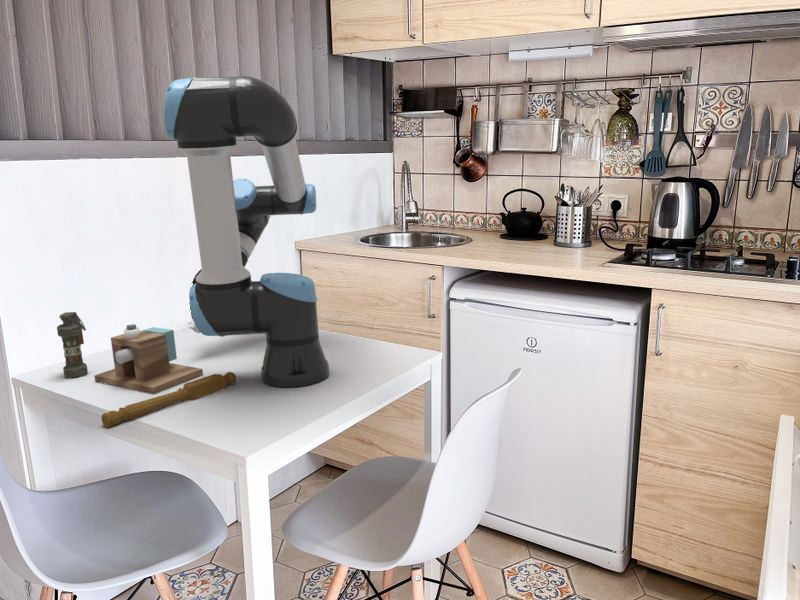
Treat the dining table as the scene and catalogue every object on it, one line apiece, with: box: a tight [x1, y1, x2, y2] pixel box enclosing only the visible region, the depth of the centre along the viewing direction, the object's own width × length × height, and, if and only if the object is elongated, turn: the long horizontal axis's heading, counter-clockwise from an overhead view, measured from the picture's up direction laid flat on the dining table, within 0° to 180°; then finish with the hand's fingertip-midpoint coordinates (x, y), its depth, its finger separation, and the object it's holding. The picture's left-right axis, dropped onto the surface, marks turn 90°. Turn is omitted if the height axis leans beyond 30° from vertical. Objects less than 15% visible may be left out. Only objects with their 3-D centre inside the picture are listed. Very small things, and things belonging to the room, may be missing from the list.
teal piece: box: [115, 326, 178, 364], centre depth 153 cm, size 7×12×7 cm, turn 149°
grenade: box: [56, 311, 88, 379], centre depth 159 cm, size 6×6×15 cm
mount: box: [94, 330, 204, 395], centre depth 154 cm, size 20×14×10 cm
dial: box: [123, 323, 141, 340], centre depth 150 cm, size 3×3×3 cm
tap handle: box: [101, 371, 237, 428], centre depth 139 cm, size 3×3×30 cm
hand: (194, 329), depth 167 cm, fingers closed
